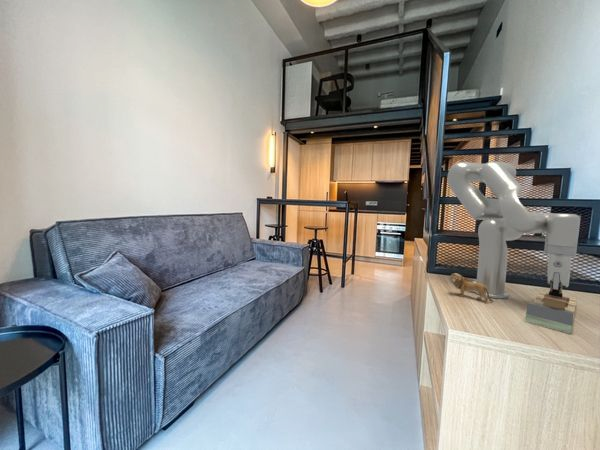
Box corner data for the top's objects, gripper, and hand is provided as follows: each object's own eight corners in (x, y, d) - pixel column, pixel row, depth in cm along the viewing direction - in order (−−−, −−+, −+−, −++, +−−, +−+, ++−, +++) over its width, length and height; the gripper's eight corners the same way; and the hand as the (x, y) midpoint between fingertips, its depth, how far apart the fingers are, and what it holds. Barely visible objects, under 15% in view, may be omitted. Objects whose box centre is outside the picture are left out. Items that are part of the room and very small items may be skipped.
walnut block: (564, 315, 80) (565, 301, 80) (542, 310, 84) (543, 297, 83) (564, 311, 84) (566, 298, 83) (543, 306, 87) (544, 294, 87)
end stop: (572, 325, 73) (573, 314, 73) (526, 314, 81) (527, 303, 81) (572, 324, 74) (573, 312, 74) (526, 312, 82) (528, 302, 82)
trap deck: (571, 334, 74) (572, 325, 73) (525, 321, 81) (526, 314, 81) (575, 305, 96) (576, 298, 96) (539, 297, 104) (540, 291, 103)
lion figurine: (448, 295, 104) (449, 273, 103) (450, 292, 108) (451, 271, 107) (493, 305, 94) (495, 281, 94) (493, 301, 99) (495, 278, 98)
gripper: (576, 254, 78) (569, 313, 79) (576, 250, 88) (571, 302, 89) (542, 251, 83) (537, 306, 85) (546, 247, 93) (541, 296, 95)
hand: (554, 304), depth 87 cm, fingers closed
